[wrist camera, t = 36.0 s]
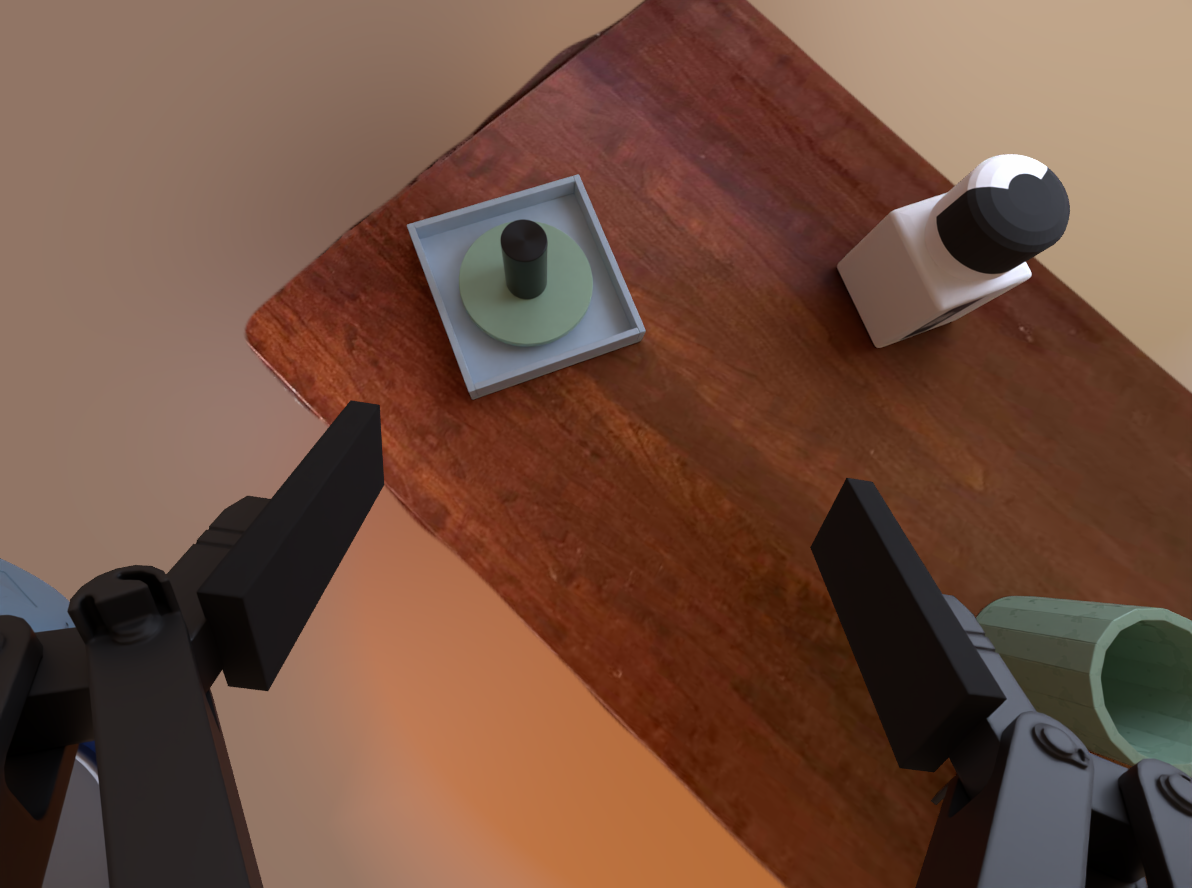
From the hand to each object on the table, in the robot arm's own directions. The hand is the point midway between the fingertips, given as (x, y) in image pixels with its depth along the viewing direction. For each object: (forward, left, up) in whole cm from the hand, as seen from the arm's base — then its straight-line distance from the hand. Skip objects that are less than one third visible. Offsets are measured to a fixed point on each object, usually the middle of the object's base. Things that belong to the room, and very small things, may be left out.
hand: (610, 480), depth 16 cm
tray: (+3, +18, -24) cm, 30 cm away
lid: (+3, +18, -23) cm, 29 cm away
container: (+31, +8, -25) cm, 41 cm away
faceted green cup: (+27, -21, -24) cm, 42 cm away
